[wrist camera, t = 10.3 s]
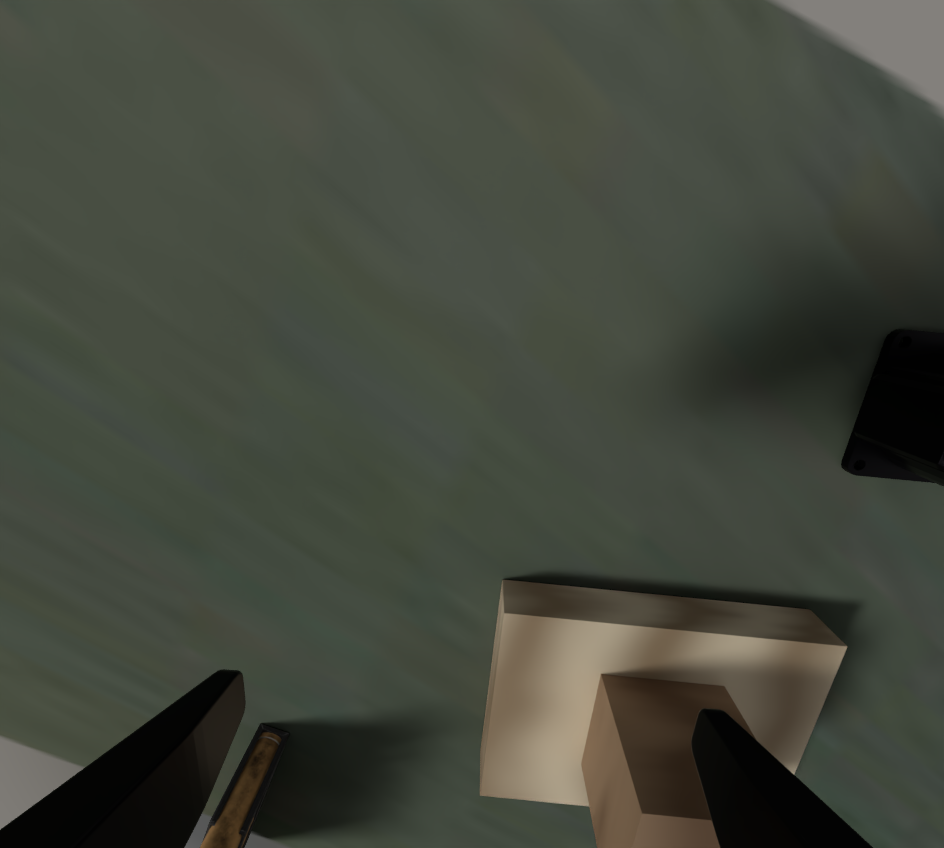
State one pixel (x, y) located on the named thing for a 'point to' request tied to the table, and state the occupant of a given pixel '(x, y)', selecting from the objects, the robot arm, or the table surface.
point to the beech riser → (638, 674)
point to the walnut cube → (649, 763)
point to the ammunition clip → (246, 791)
